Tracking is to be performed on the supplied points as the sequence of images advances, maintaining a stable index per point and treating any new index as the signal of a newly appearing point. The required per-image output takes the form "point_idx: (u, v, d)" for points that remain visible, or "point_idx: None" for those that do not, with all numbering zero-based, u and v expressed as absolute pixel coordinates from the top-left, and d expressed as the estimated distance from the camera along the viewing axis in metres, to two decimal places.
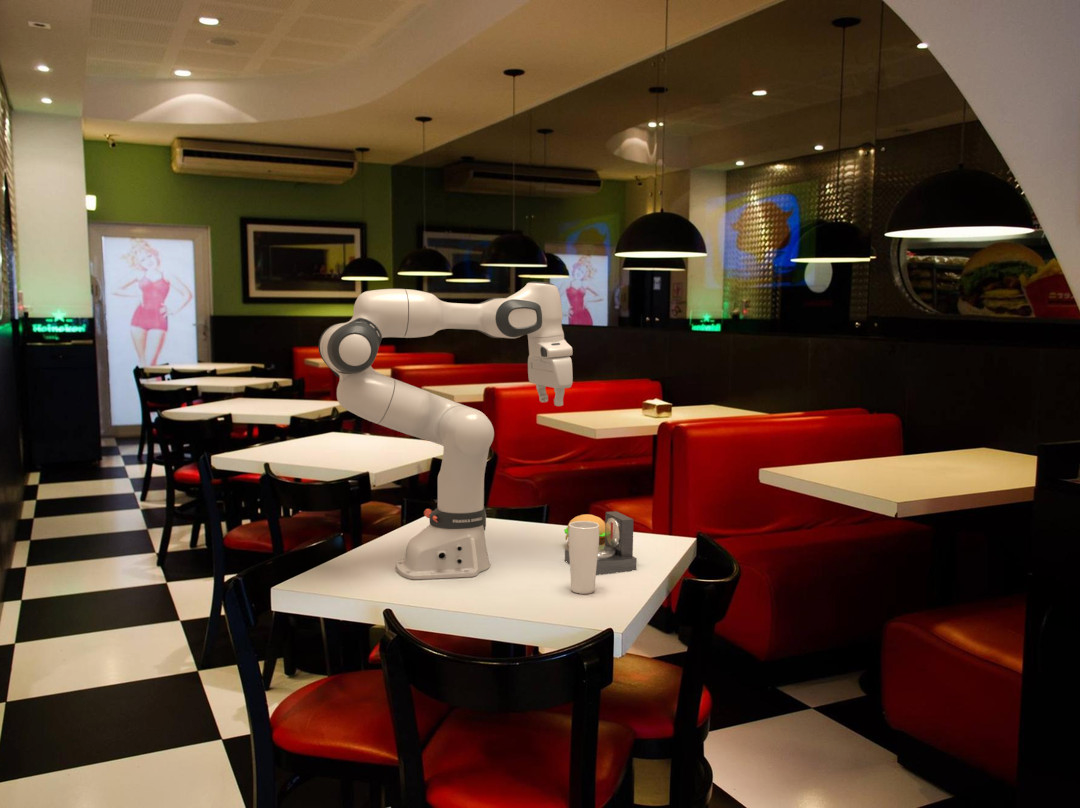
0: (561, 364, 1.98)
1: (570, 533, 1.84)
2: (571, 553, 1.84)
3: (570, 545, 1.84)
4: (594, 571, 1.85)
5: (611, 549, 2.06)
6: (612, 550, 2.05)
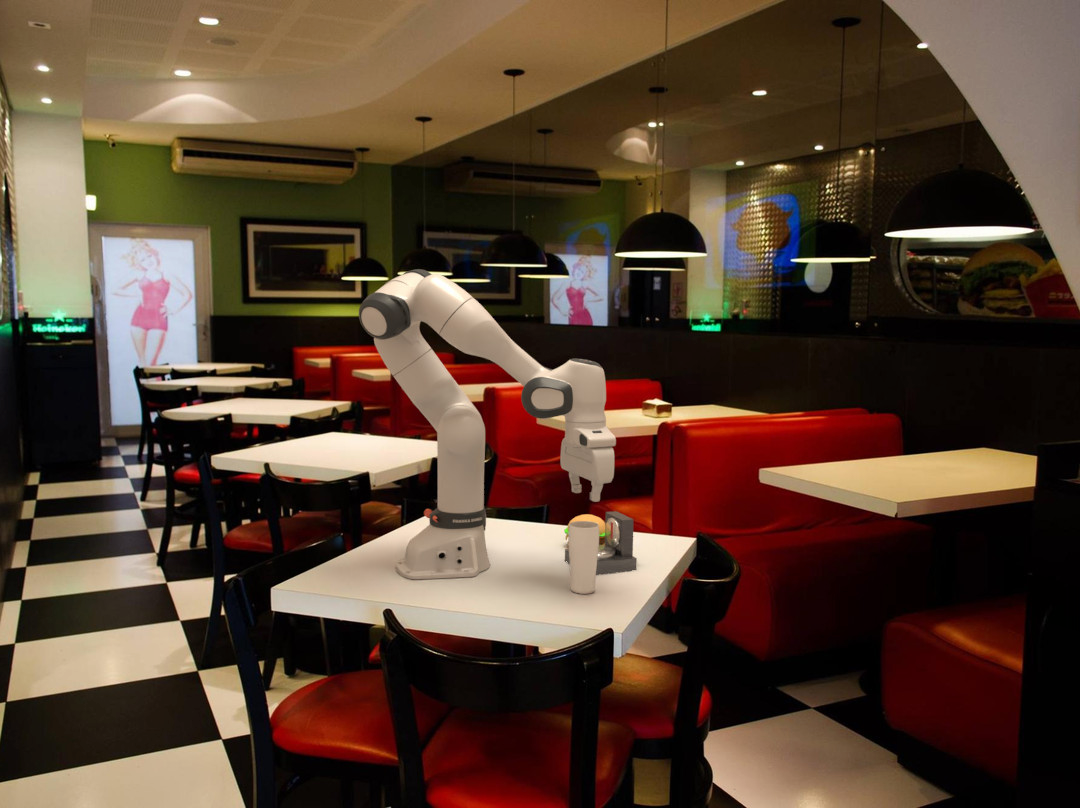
0: (602, 455, 1.75)
1: (570, 533, 1.84)
2: (571, 553, 1.84)
3: (570, 545, 1.84)
4: (594, 571, 1.85)
5: (611, 549, 2.06)
6: (612, 550, 2.05)
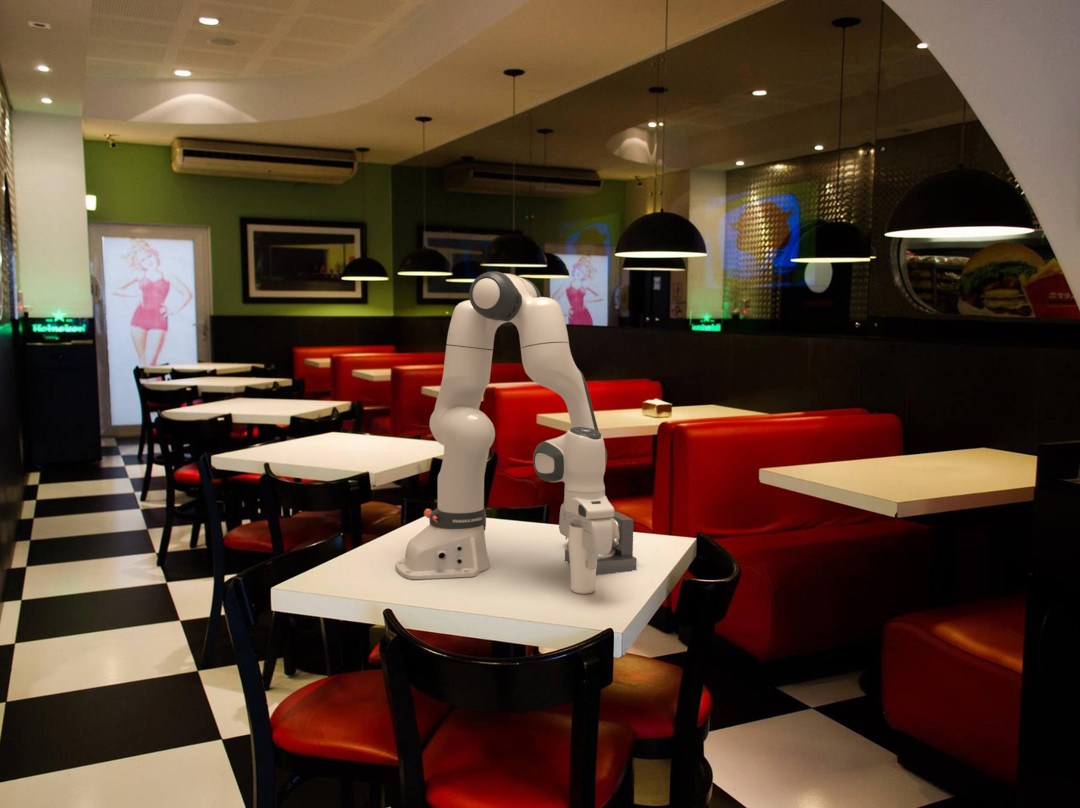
0: (600, 527, 1.76)
1: (570, 533, 1.84)
2: (571, 553, 1.84)
3: (570, 545, 1.84)
4: (594, 571, 1.85)
5: (611, 549, 2.06)
6: (612, 550, 2.05)
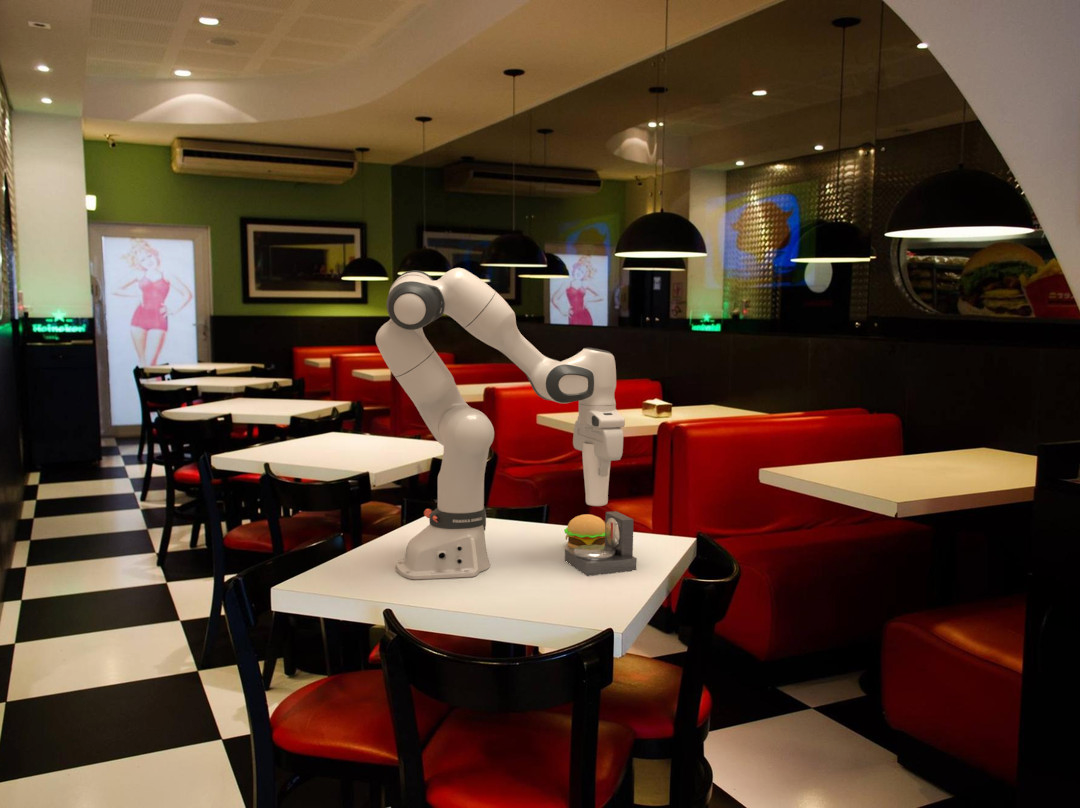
0: (612, 435, 1.93)
1: (584, 450, 2.01)
2: (586, 468, 2.01)
3: (585, 461, 2.01)
4: (607, 485, 2.02)
5: (611, 549, 2.06)
6: (612, 550, 2.05)
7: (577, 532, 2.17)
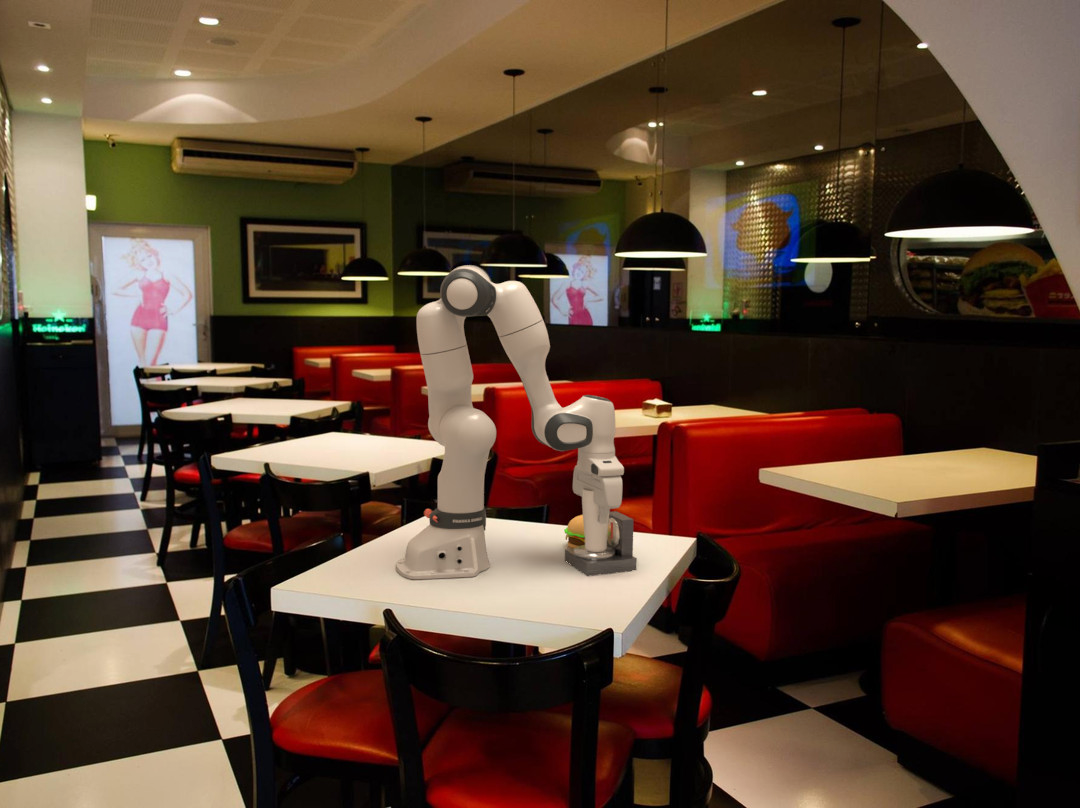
0: (611, 483, 1.94)
1: (584, 497, 2.02)
2: (585, 515, 2.02)
3: (584, 508, 2.02)
4: (606, 531, 2.03)
5: (611, 549, 2.06)
6: (612, 550, 2.05)
7: (577, 532, 2.17)
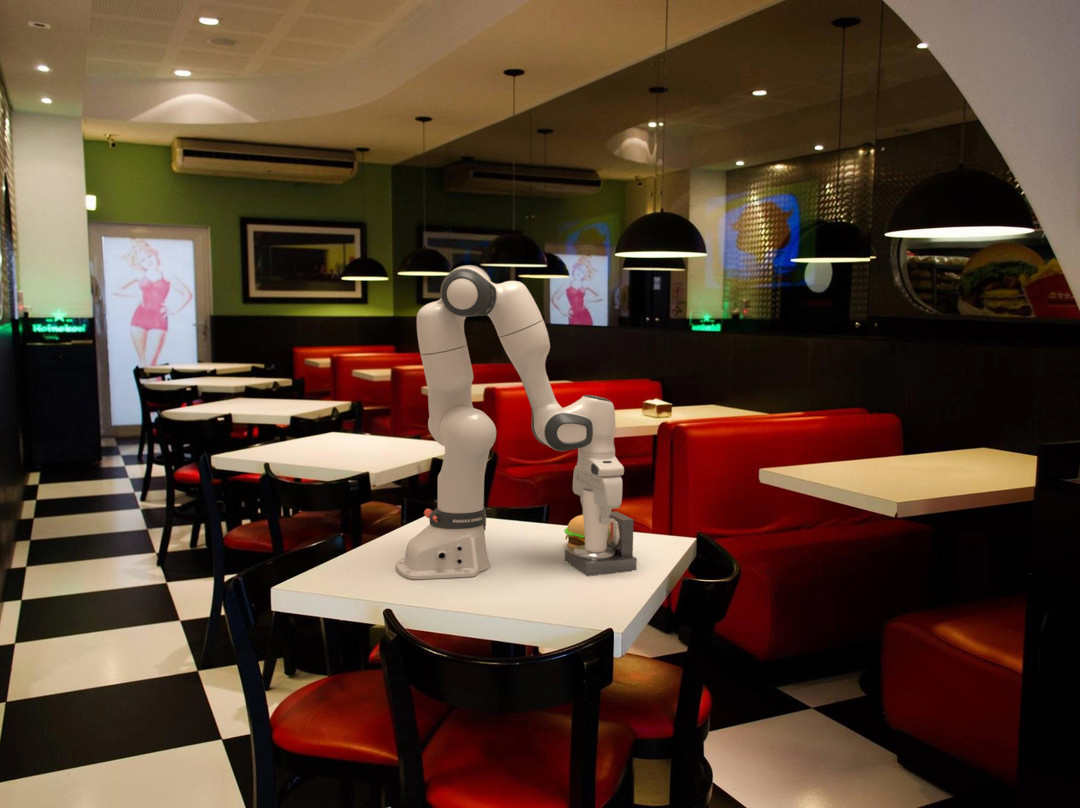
0: (611, 484, 1.94)
1: (585, 497, 2.02)
2: (586, 515, 2.02)
3: (585, 508, 2.02)
4: (606, 531, 2.03)
5: (611, 549, 2.06)
6: (612, 550, 2.05)
7: (577, 532, 2.17)
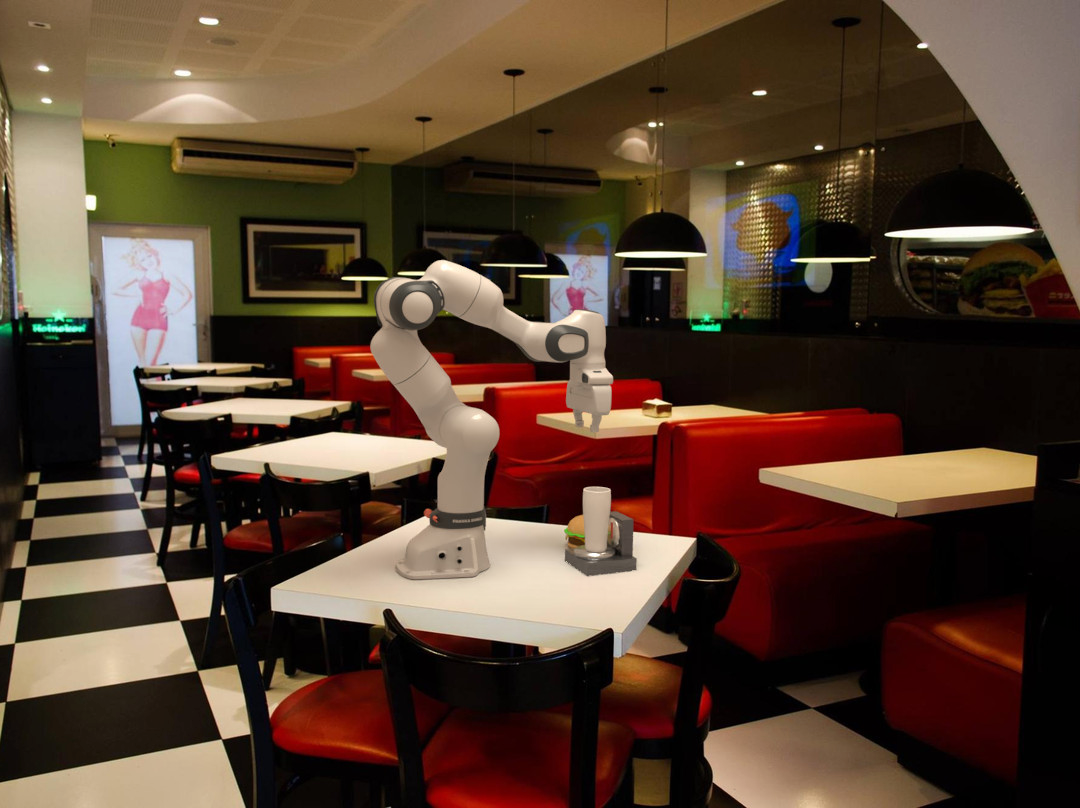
0: (601, 391, 2.03)
1: (585, 497, 2.02)
2: (586, 515, 2.02)
3: (585, 508, 2.02)
4: (606, 531, 2.03)
5: (611, 549, 2.06)
6: (612, 550, 2.05)
7: (577, 532, 2.17)
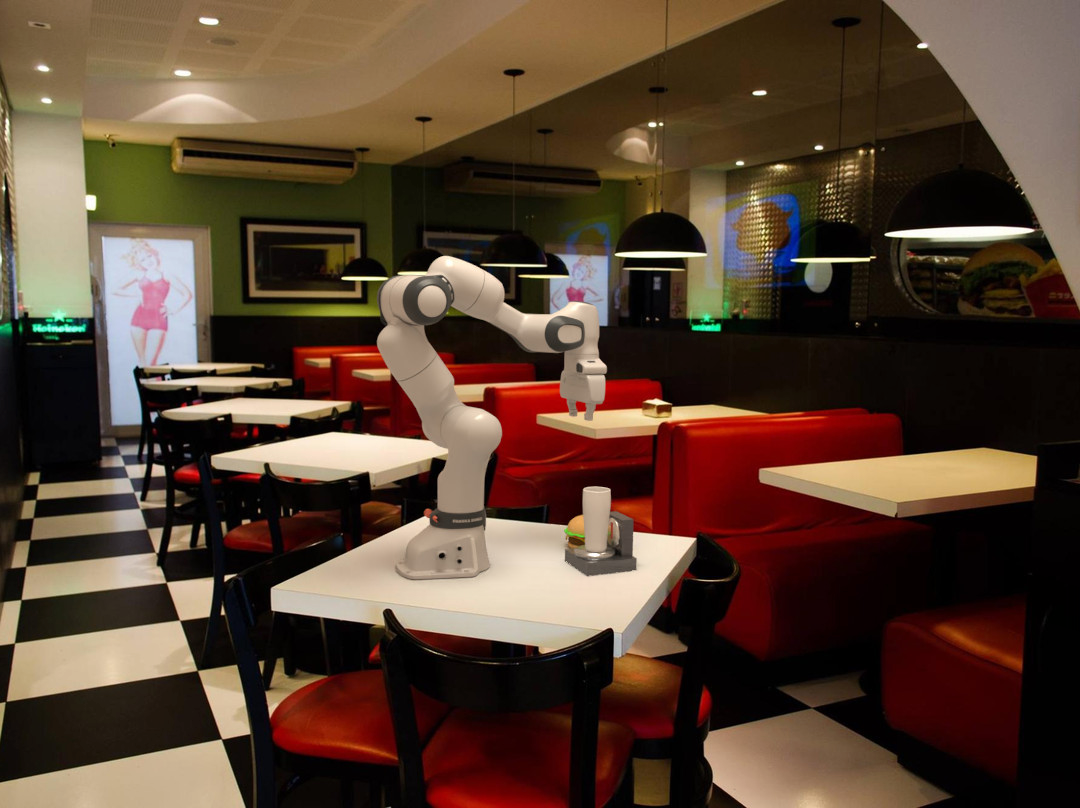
0: (595, 380, 2.09)
1: (585, 497, 2.02)
2: (586, 515, 2.02)
3: (585, 508, 2.02)
4: (606, 531, 2.03)
5: (611, 549, 2.06)
6: (612, 550, 2.05)
7: (577, 532, 2.17)
